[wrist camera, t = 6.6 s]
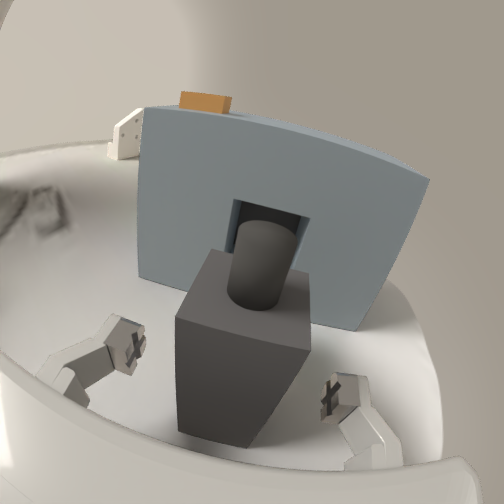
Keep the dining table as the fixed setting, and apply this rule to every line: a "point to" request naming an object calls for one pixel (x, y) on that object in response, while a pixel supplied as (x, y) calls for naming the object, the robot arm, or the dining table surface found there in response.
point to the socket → (271, 200)
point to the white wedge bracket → (126, 137)
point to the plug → (241, 336)
